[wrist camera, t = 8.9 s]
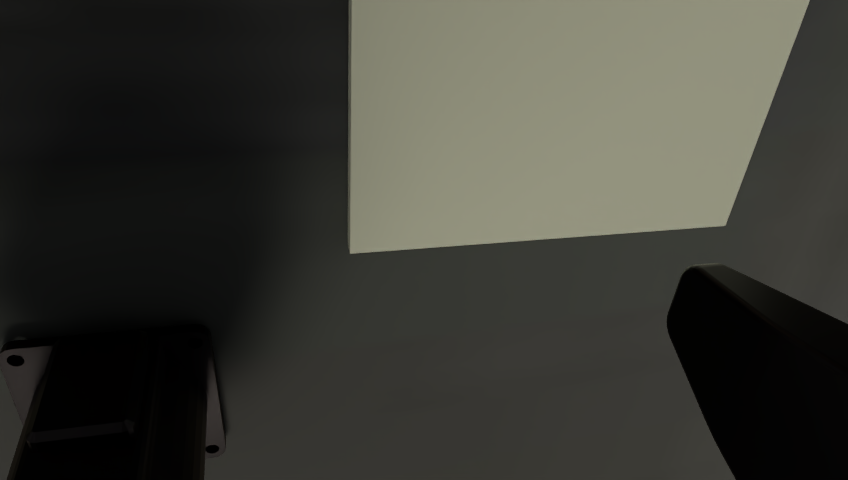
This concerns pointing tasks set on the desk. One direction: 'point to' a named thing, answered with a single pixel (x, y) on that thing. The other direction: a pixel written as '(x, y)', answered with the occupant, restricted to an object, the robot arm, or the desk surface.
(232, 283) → the desk surface
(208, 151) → the desk surface
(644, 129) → the mat
